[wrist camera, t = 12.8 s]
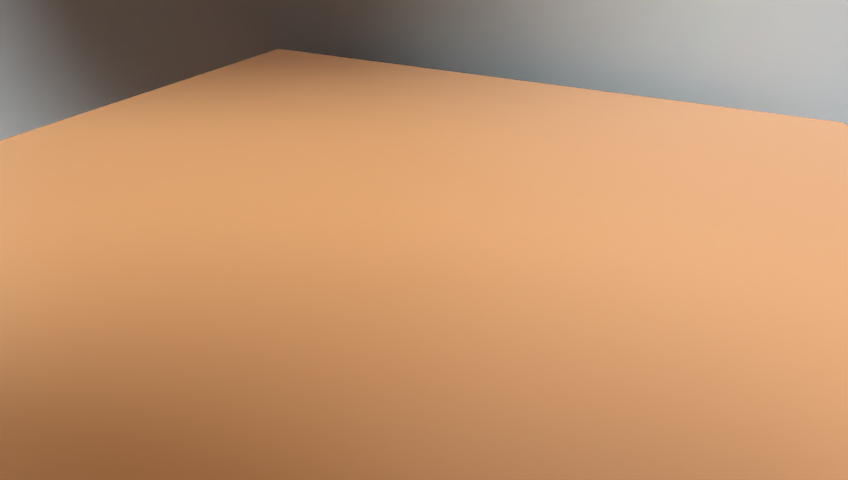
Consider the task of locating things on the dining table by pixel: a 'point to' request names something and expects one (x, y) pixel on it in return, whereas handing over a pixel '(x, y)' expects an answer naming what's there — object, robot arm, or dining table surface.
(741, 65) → the dining table surface
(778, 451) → the tan wooden brick
